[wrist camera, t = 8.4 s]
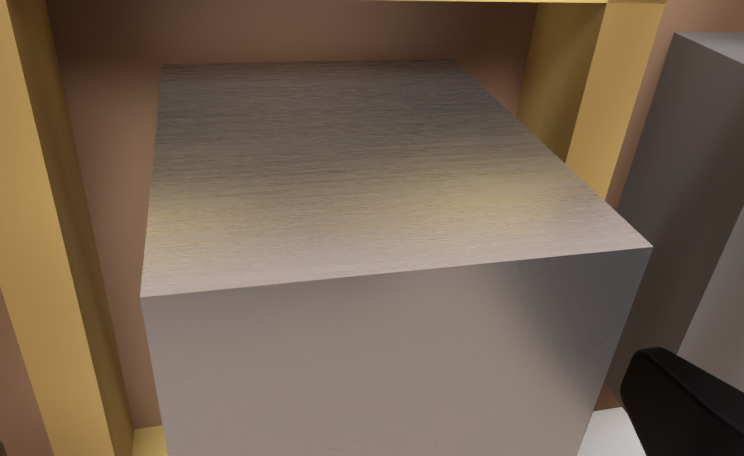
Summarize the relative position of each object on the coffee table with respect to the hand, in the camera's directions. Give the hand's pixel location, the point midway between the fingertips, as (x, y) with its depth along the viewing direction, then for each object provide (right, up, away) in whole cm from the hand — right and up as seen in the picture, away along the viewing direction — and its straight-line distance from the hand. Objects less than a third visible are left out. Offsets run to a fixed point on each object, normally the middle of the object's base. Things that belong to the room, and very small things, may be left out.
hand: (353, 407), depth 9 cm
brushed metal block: (-1, +2, +4) cm, 5 cm away
